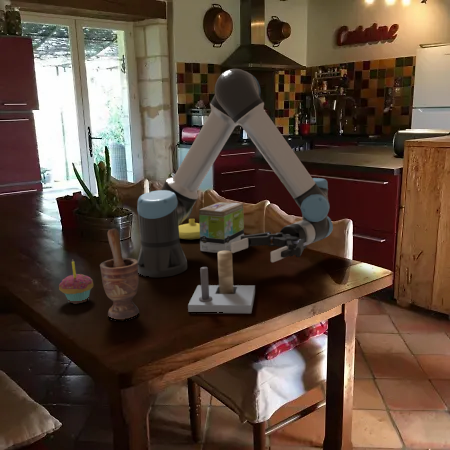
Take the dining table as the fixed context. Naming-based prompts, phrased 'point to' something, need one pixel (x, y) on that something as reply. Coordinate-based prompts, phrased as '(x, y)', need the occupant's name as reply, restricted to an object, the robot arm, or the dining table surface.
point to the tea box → (220, 226)
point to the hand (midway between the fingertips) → (251, 252)
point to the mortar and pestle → (120, 280)
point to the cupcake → (76, 286)
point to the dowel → (225, 272)
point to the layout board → (221, 297)
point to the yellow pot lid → (189, 230)
